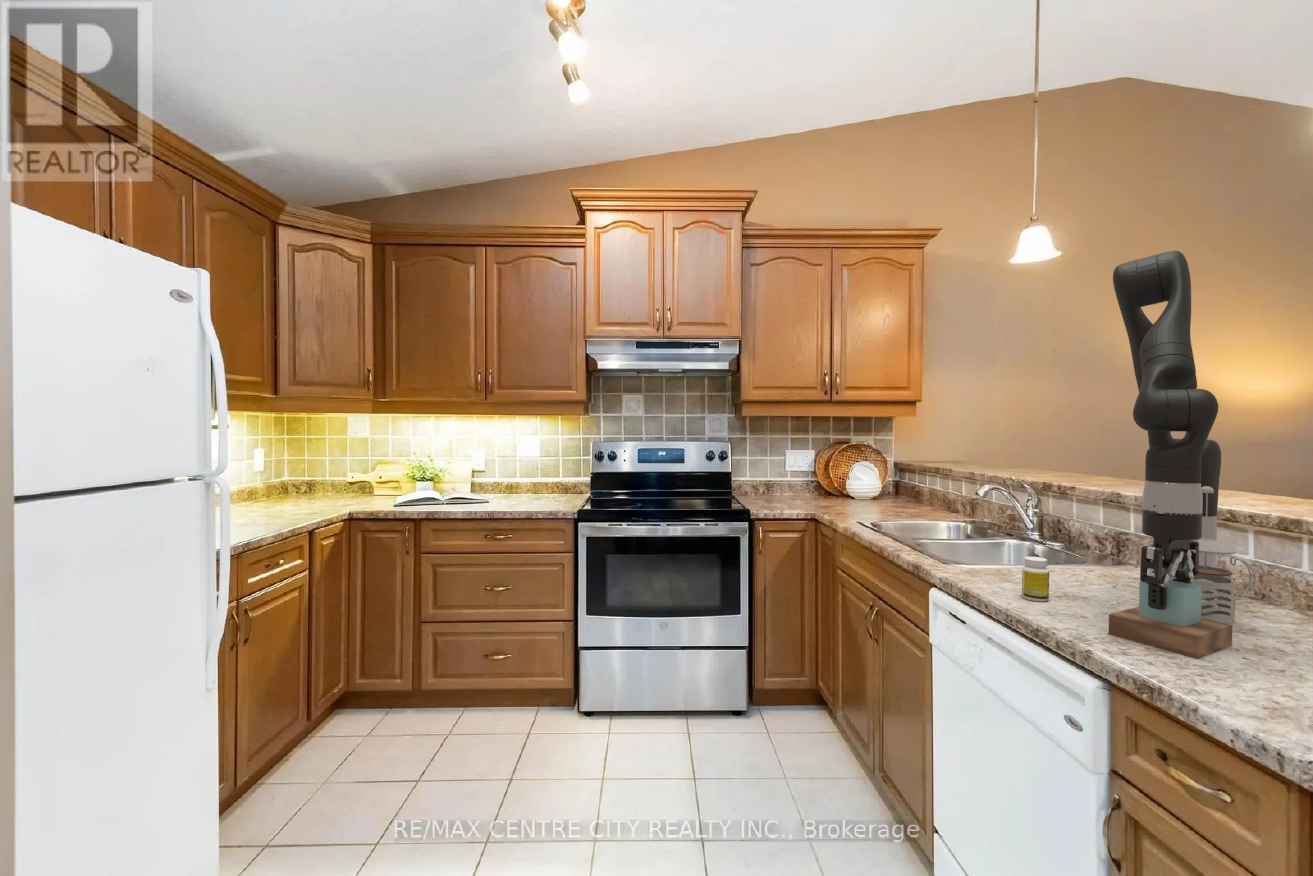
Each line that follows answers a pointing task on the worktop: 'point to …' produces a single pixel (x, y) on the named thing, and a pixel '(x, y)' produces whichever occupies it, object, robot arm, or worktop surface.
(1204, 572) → the french press
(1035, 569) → the supplement bottle
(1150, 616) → the teal cube
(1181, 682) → the worktop surface
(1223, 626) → the walnut block
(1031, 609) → the worktop surface
